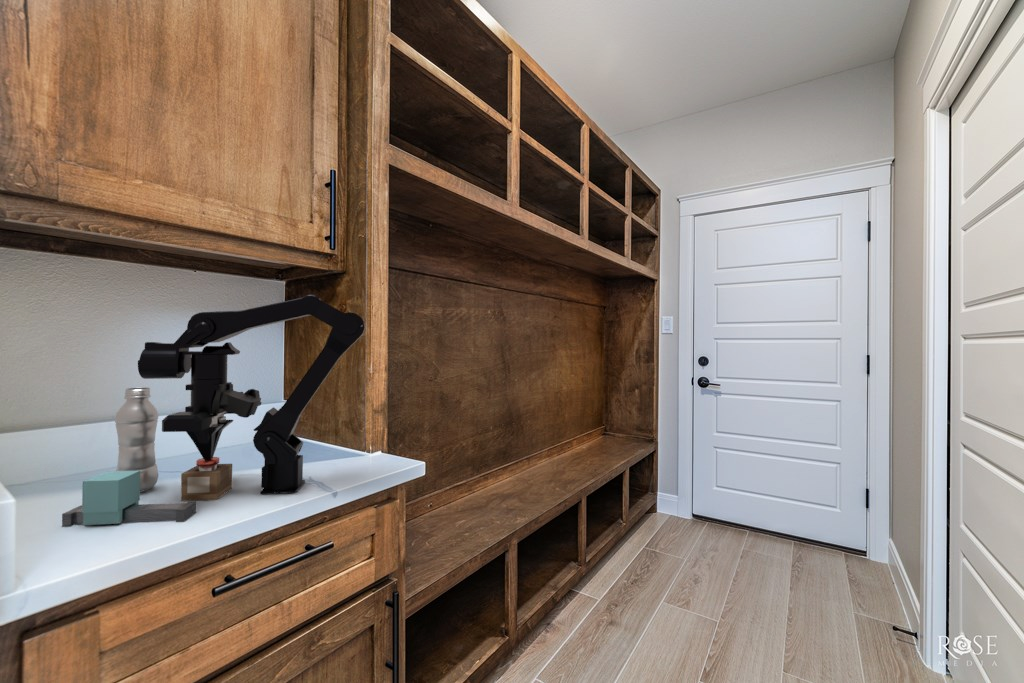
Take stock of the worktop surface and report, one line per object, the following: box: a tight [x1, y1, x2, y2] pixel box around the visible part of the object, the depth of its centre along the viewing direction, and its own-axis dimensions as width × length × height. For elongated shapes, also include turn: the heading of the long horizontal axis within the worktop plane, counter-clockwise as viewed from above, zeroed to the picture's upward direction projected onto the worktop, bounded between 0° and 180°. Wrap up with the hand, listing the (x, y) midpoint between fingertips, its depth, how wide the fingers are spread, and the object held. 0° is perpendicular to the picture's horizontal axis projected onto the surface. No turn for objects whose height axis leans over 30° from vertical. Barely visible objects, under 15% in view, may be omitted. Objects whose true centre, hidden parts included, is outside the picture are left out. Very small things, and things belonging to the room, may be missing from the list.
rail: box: [61, 500, 197, 528], centre depth 72 cm, size 17×4×2 cm, turn 99°
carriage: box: [81, 470, 141, 526], centre depth 72 cm, size 5×5×7 cm
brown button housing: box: [180, 463, 233, 502], centre depth 84 cm, size 6×6×5 cm
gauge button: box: [195, 456, 220, 471], centre depth 84 cm, size 4×4×6 cm
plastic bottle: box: [114, 386, 159, 493], centre depth 85 cm, size 6×7×20 cm
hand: (208, 459), depth 84 cm, fingers closed, pressing on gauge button
